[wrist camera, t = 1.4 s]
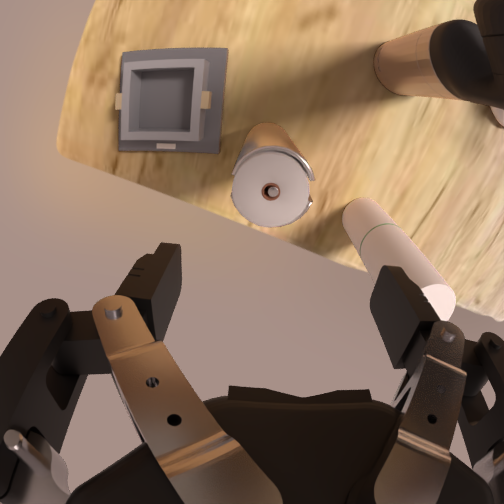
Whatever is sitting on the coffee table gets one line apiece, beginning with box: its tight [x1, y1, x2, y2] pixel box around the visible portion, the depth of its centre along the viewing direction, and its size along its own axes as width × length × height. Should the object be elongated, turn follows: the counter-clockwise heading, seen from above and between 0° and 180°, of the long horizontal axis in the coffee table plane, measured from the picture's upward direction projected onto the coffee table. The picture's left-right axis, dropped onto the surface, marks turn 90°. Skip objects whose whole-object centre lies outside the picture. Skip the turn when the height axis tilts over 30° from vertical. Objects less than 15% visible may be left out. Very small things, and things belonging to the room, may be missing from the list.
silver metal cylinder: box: [231, 122, 315, 227], centre depth 33 cm, size 6×6×25 cm
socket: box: [115, 48, 229, 154], centre depth 38 cm, size 16×16×6 cm
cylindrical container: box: [342, 197, 456, 321], centre depth 38 cm, size 7×7×25 cm
